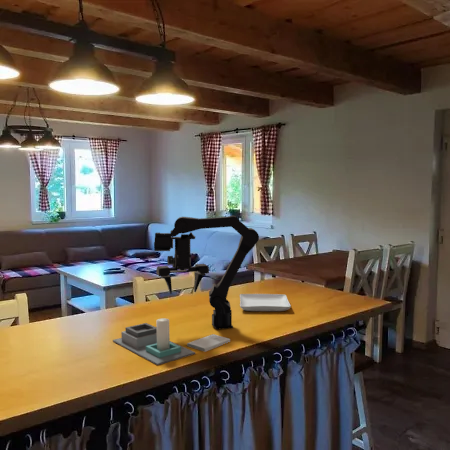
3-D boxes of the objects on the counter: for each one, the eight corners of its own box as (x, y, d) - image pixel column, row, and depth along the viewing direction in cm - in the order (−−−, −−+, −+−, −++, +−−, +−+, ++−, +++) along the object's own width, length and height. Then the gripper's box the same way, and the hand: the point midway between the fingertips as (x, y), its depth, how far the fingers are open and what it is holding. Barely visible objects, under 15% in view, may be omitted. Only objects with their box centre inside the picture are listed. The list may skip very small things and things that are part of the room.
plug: (162, 348, 151) (162, 317, 150) (172, 350, 149) (171, 319, 148) (154, 351, 148) (153, 320, 147) (163, 354, 145) (163, 322, 144)
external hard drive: (186, 347, 154) (212, 338, 164) (204, 353, 149) (230, 343, 158) (186, 342, 154) (212, 333, 164) (204, 348, 149) (230, 338, 158)
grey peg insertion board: (112, 341, 159) (112, 326, 159) (148, 332, 168) (148, 319, 168) (157, 365, 138) (157, 348, 137) (195, 353, 147) (195, 338, 147)
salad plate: (291, 313, 193) (291, 305, 193) (239, 313, 194) (239, 305, 193) (285, 301, 214) (285, 293, 214) (239, 301, 215) (239, 293, 214)
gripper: (201, 247, 182) (201, 286, 184) (153, 249, 177) (154, 290, 178) (209, 251, 172) (209, 292, 173) (159, 253, 166) (159, 296, 167)
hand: (182, 292), depth 173 cm, fingers open, 9 cm apart
